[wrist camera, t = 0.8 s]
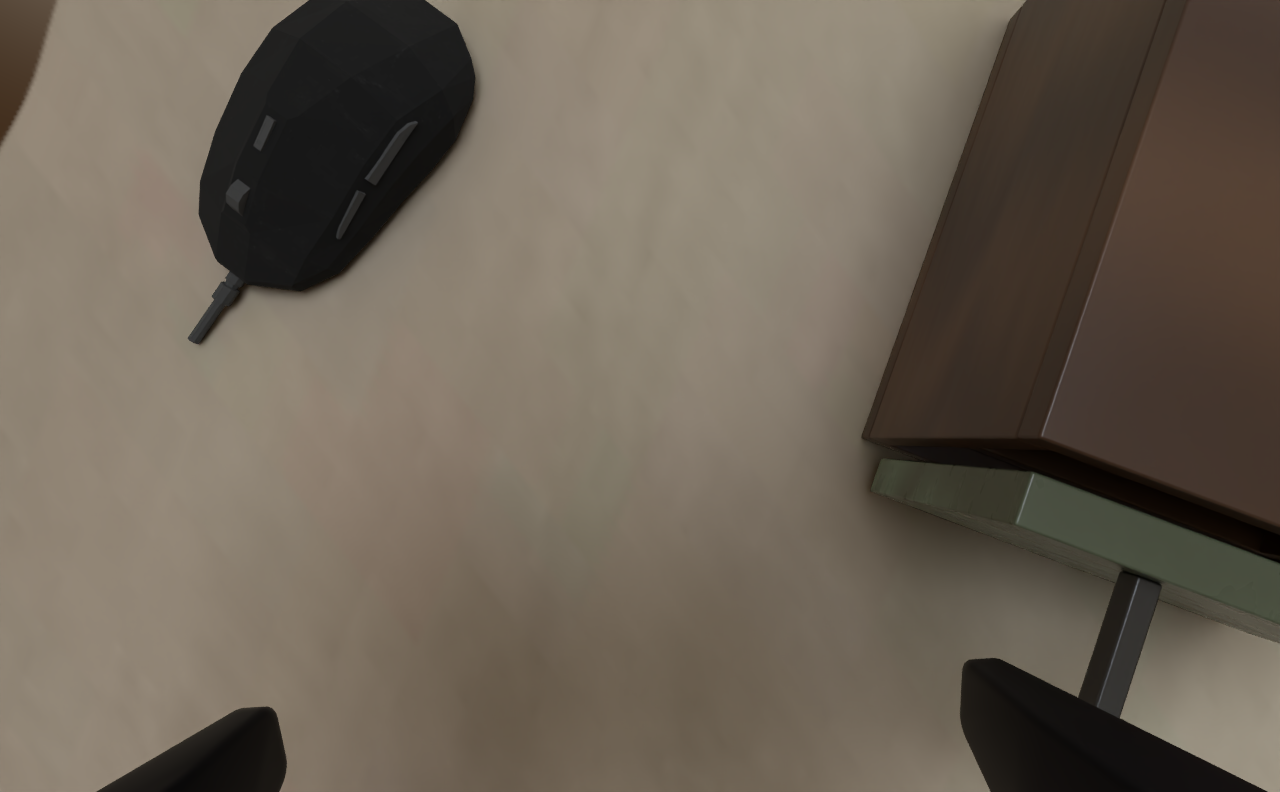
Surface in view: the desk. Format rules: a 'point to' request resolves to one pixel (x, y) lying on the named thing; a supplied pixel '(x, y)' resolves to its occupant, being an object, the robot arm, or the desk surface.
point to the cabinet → (1110, 258)
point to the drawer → (1107, 546)
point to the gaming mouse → (328, 139)
